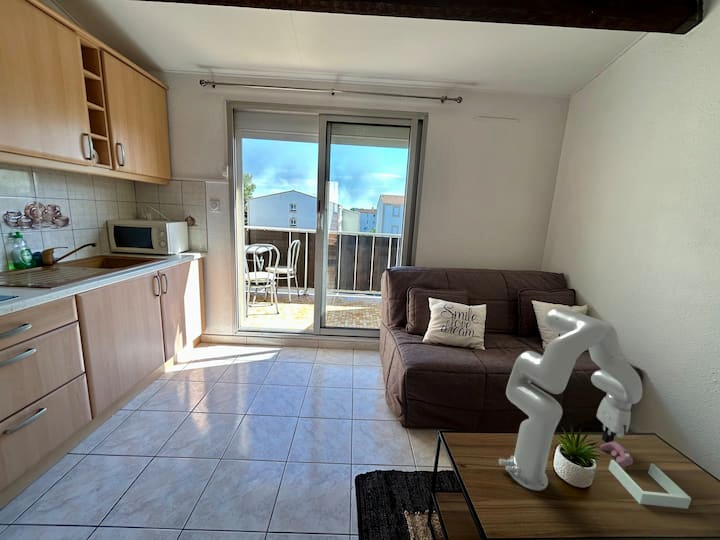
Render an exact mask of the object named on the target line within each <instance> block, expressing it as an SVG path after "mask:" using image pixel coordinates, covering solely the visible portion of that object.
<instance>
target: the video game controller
mask: <svg viewBox="0 0 720 540" xmlns="http://www.w3.org/2000/svg"><path fill="white" fill-rule="evenodd" d="M599 448H600V450H601V451H610V455H611V456H612V457H614V458H615V460H616V461H615V462H616V463H617V464H618V465H619V466H620V467H621V468H622V469H623V468H626V467H628V466H631V465H633V463H634V459H633V457H632V456H631V454H630V452H629V451H628V449H627V448H626V447H625V446H624V445H622V444H621V443H620V442H618V441H615V440H613V441H612V442H609V443H603V444H601V445H600V446H599Z"/></svg>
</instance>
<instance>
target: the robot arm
mask: <svg viewBox="0 0 720 540" xmlns="http://www.w3.org/2000/svg"><path fill="white" fill-rule="evenodd" d="M544 323H545V326H546V327H547V329H549V331H552V332H554V333H556V334H558V335H560V336H557V337H555V338H554V339H552V340H551V341H549V342H548V343H547V344H546V347H545V350H544V351H543V354H542V355H541V354H539V353H538V352H537V351H536V352H535V351H532V350H526V351H524V352H522V353H521V354H519V356H518V357H517V358H516V359H515V362H514V365H513V367H512V371H511V373H510V375H509V379H508V382H507V385H506V390H505V395H506V397H507V399H508V401H510V402H511V404H513V405H515V406H516V407H517V408H518V409H519V410H521V411H522V412H523V413H524V414H526V415H527V416H528V418H526V419H524V420H523V421H521V422H520V424H519V425H520V426H519V428H518V429H519V430H518V435H517V441H516V443H515V444H516V445H515V450H514V455H510V458H507V459H505V458H498V464H499V466H505V471H507V472H508V473H509V475H510V477H512V479H513V480H514V481H516V482H517V483H518V484H519V485H521V486H523V487H524V488H526V489H528V490H531V491H539V492H541V491H543V490H545V489H547V487H548V485H549V478H548V476H547V474H546V468H547V465H548V464H547V463H548V460H549V455H550V451H551V447H552V441H553V438H554V436H555V435H554V434H555V431H556V429H557V426H558V425H559V423H560V421H561V419H562V416H563V413H564V412H563V407H562V406H561V404H560V403H559V402H558V401H557V400H556V399H555V398H554V397H553V396H552V395H550V394H549V393H551V394H553V395H559V394H562V393H563V392H564V391H565V390H566V388H567V385H568V382H569V380H570V377H571V374H572V371H573V369H574V366H575V365H576V361H577V360H578V358H579V357H580V355H582V354H583V353H584V352H585V351H587V350H588V352H589V354H590V359H591V360H592V362H594V364H596V365H597V367H599V370H595V371H594V372H593V373H592V375H591V376H590V380H591V383H592V385H594V386H595V387H596V388H598V389H600V390H601V391H603V392H605V393H606V395H605V396H603V399H602V400H601V402H600V404H599V406H598V409H597V411H596V418H597V419H598V421H600V422H601V423H602V430H603V433H602V437H601V440H602V441H603V442H604V444H606V443H609V442H612V441H613V442H614V441H615V436H616V437H618V438H620V439H624V437H625V435H626V434H627V433H628V431H629V427H630V423H631V415H632V413H631V412H632V411H631V408H632V406H633V405H634V404H637V403H639V402H640V400H641V399H642V397H643V384H642V379H641V376H640V375H639V373H638V372H637V371H636V370H635V369H634V368H633V367H632V365H631V364H630V363H629V362H628V361H627V360H626V359H625V358H624V357H623V356H622V355H621V351H620V344H619V339H618V334H617V331H616V328H615V327H614V326H613V325H612V324H610V323H609V322H606V321H604V320H601V319H598V318H595V317H592V316H589V315H586V314H583V313H580V312H576V311H571V310H568V309H564V308H561V307H555V308H553V309H550V310H549V311H547V314H546V315H545V317H544ZM531 382H532V383H533V384H532V383H531ZM534 384H535V385H534ZM539 387H540V388H541V389H540V388H539ZM542 389H543V390H544V391H543V390H542ZM545 391H546V392H548V393H546V392H545Z"/></svg>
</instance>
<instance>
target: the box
mask: <svg viewBox="0 0 720 540" xmlns="http://www.w3.org/2000/svg"><path fill="white" fill-rule="evenodd" d="M608 470H609V471H610V472H611V474H613V476H614V477H615V478H616V479H617V480H618V482H619V483H621V485H622V486H623V487H624V488H625V489H626V490H627V491H628V492H629V494H630V495H631V496H632V497H633V499H635V501H636V502H637V503H638V504H639V505H647V506H657V507H667V508H678V509H687V510H688V509H689V506H690V504H691V501H692V498H691V496H690V495H688V494H687V493H686V492H685V491H684V490H683V489H681V487H680V486H678V485H677V483H675V482H674V481H673V480H672V479H671V478H670V477H668V476H667V475H666V474H665V473H664V472H663V471H662V469H660V468H659V467H658V466H657V465H656V464H655V463H650V465H649V468H648V471H647V474H649V476H651V478H652V479H653V480H654V481H656V482H657V484H659V486H661V488H663V490H664V491H666V492H657V491H647V490H646V491H645V490H644V489H642V488H641V487H640V486H639V485H638V484H637V483H636V482H635V481H634V479H632V478H631V477H630V475H629V474H628V473H627V472H626V471H625V470H624V469H623V468H621V467H620V466H619V465H618V464H617V463H616V461H615V460H614V459H610V462H609V465H608Z"/></svg>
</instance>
